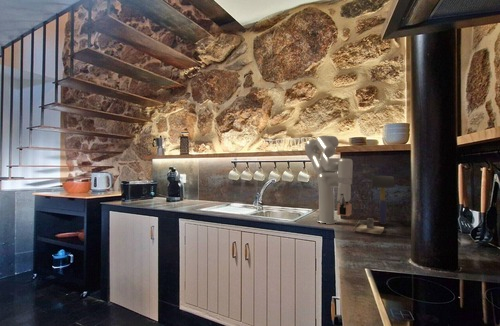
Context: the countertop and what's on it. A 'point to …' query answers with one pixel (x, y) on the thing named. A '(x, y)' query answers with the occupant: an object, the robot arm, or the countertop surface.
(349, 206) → the orange brown cube
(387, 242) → the countertop surface
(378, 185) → the rubber mallet
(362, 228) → the post base
